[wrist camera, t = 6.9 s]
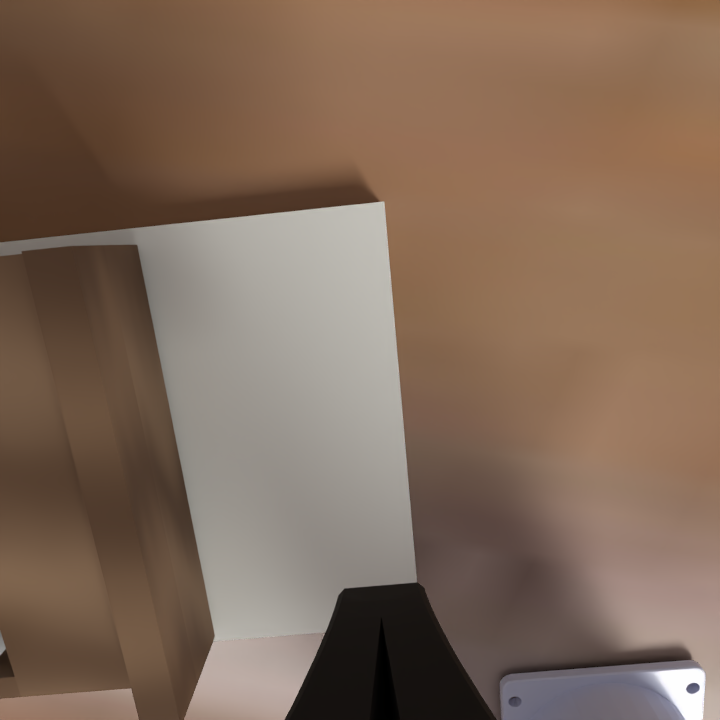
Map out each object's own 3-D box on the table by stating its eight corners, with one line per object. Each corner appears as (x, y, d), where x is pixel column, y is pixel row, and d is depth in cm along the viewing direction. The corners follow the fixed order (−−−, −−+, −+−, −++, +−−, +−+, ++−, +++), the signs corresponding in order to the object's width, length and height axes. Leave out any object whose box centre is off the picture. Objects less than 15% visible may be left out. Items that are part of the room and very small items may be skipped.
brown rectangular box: (215, 635, 18) (181, 725, 15) (-25, 655, 19) (-112, 748, 15) (137, 244, 15) (71, 246, 12) (-152, 275, 15) (-298, 284, 12)
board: (417, 602, 20) (436, 726, 15) (-29, 639, 20) (-160, 771, 15) (382, 204, 16) (391, 188, 11) (-155, 261, 17) (-377, 270, 12)
